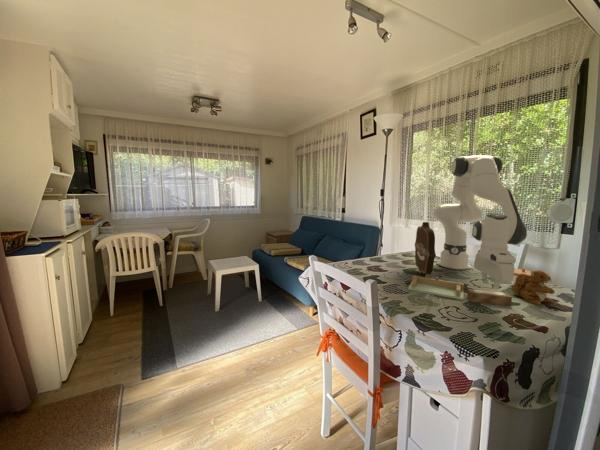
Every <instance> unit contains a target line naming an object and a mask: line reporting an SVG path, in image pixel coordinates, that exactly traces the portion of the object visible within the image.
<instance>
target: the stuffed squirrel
mask: <svg viewBox="0 0 600 450" xmlns="http://www.w3.org/2000/svg"><path fill="white" fill-rule="evenodd" d="M529 271H530V273H531V276H529V275H527V274H519V275H518V276H517V278H516V282H515V284H514V285H513V288H512V289H511V290H512V292H513V294H515V295H516V296H518V297H521V298H523V299H524V301H526V302H527V303H530V304H532V305H535V306H541V304H542V303H541V302H544V303H552V302H553V299H552V298H550V297H547V295H546V294H550V295H552V294H555V289H553V288H552V287H549V286H547V285H545V284H549V283H551V282H552V278H551V276H550V275H548V273H546V272H545V271H543V270H529Z"/></svg>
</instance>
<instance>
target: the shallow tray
mask: <svg viewBox="0 0 600 450" xmlns="http://www.w3.org/2000/svg"><path fill="white" fill-rule="evenodd" d="M407 289H408V291H414V292H419V293H423V294H428V295H433V296H434V295H435V296H439V297H444V298H451V299H455V300H459V301H460V300H461V301H464V299H465V297H464V291H465V290H464V289H465V283H464V282H463V283H462V282H456V281H450V280H443V279H439V277H438V276H437V277H435V278H431V277H426V276H420V275H414V274H413V275H412V276H411V282H410V284H409V285H408V288H407Z"/></svg>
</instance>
